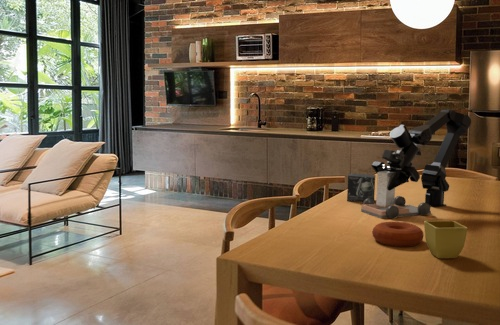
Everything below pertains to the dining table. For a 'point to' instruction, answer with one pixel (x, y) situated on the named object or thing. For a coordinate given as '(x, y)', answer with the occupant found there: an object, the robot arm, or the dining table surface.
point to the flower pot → (445, 238)
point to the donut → (397, 234)
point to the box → (360, 187)
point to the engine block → (385, 189)
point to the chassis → (394, 209)
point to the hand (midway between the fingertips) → (383, 188)
